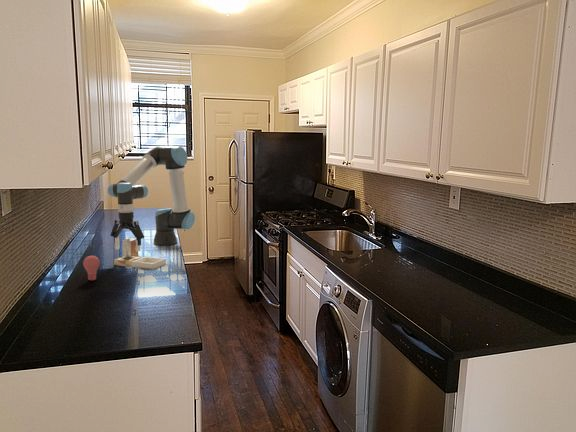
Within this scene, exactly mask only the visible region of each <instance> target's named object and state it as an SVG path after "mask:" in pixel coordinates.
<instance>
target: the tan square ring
mask: <svg viewBox="0 0 576 432" xmlns="http://www.w3.org/2000/svg"><path fill="white" fill-rule="evenodd" d="M140 258H142V257H141V256H137V257H136V256H131V259H129V260H126V259H125V256H123V255H122V256H121V257H118V258H115V259H114V260H113V264H114V266H119V267H128V268H129V267H131V268H132V261H135V260H138V259H140Z"/></svg>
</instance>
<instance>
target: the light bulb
mask: <svg viewBox="0 0 576 432" xmlns="http://www.w3.org/2000/svg"><path fill="white" fill-rule="evenodd" d="M82 264H83V267H84V269H85V271H86V272H87V279H88V280H89V281H95V280H97V273H98V272H97V271H98V269H99V268H100V259H99V258H98V257H97V256H96V255H89V256H88V255H87V256H86V257H85V258H84V260H83V263H82Z"/></svg>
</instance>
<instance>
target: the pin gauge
mask: <svg viewBox="0 0 576 432" xmlns="http://www.w3.org/2000/svg"><path fill="white" fill-rule="evenodd" d="M123 240H124V253H125V259H126V260H129V259H131V247H130V237H125V238H123Z"/></svg>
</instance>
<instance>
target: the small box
mask: <svg viewBox="0 0 576 432" xmlns="http://www.w3.org/2000/svg"><path fill="white" fill-rule="evenodd" d="M129 238H130V237H129ZM121 247H122V248H121V252H122V257H123V256H125V253H124V239H123V240H121ZM130 247H131V256H136V257H139V251H138V252H136V238H135V237H134V238H133V237H131V238H130Z"/></svg>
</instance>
